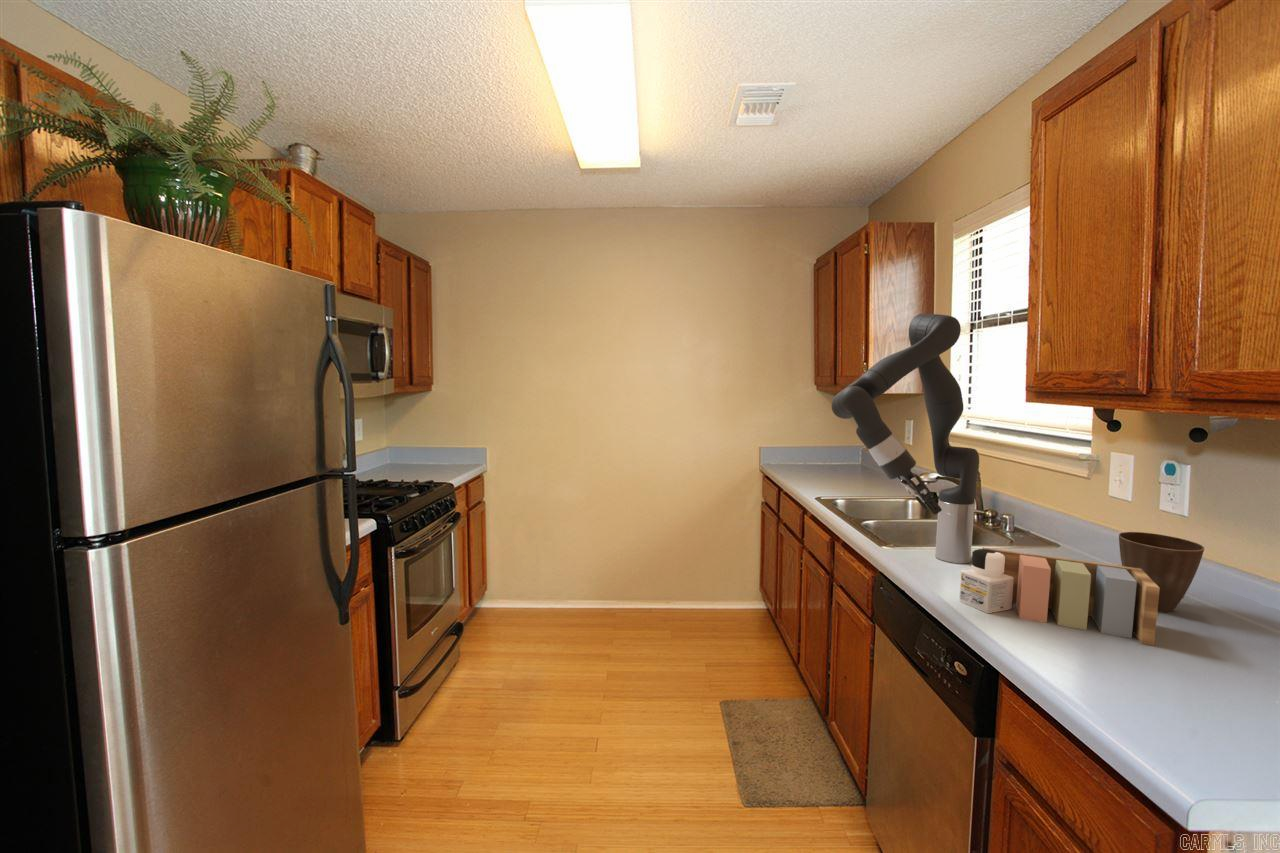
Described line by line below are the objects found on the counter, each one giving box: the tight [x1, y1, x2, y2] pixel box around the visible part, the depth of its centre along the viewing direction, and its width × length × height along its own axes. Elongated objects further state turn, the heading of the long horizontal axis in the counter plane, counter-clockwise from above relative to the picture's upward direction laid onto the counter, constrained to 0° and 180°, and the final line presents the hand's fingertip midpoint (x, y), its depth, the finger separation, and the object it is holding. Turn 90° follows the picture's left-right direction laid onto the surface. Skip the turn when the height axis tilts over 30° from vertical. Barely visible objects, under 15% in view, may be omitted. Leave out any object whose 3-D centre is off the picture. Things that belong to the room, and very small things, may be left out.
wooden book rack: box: [981, 547, 1160, 647], centre depth 128 cm, size 14×30×12 cm, turn 61°
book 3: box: [1092, 565, 1137, 639], centre depth 124 cm, size 9×5×12 cm, turn 151°
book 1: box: [1015, 555, 1051, 623], centre depth 131 cm, size 9×5×12 cm, turn 151°
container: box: [959, 548, 1014, 614], centre depth 135 cm, size 8×8×13 cm
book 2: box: [1051, 560, 1091, 631], centre depth 128 cm, size 9×5×12 cm, turn 151°
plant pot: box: [1118, 531, 1205, 613], centre depth 136 cm, size 15×15×16 cm
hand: (933, 509), depth 141 cm, fingers open, 8 cm apart
